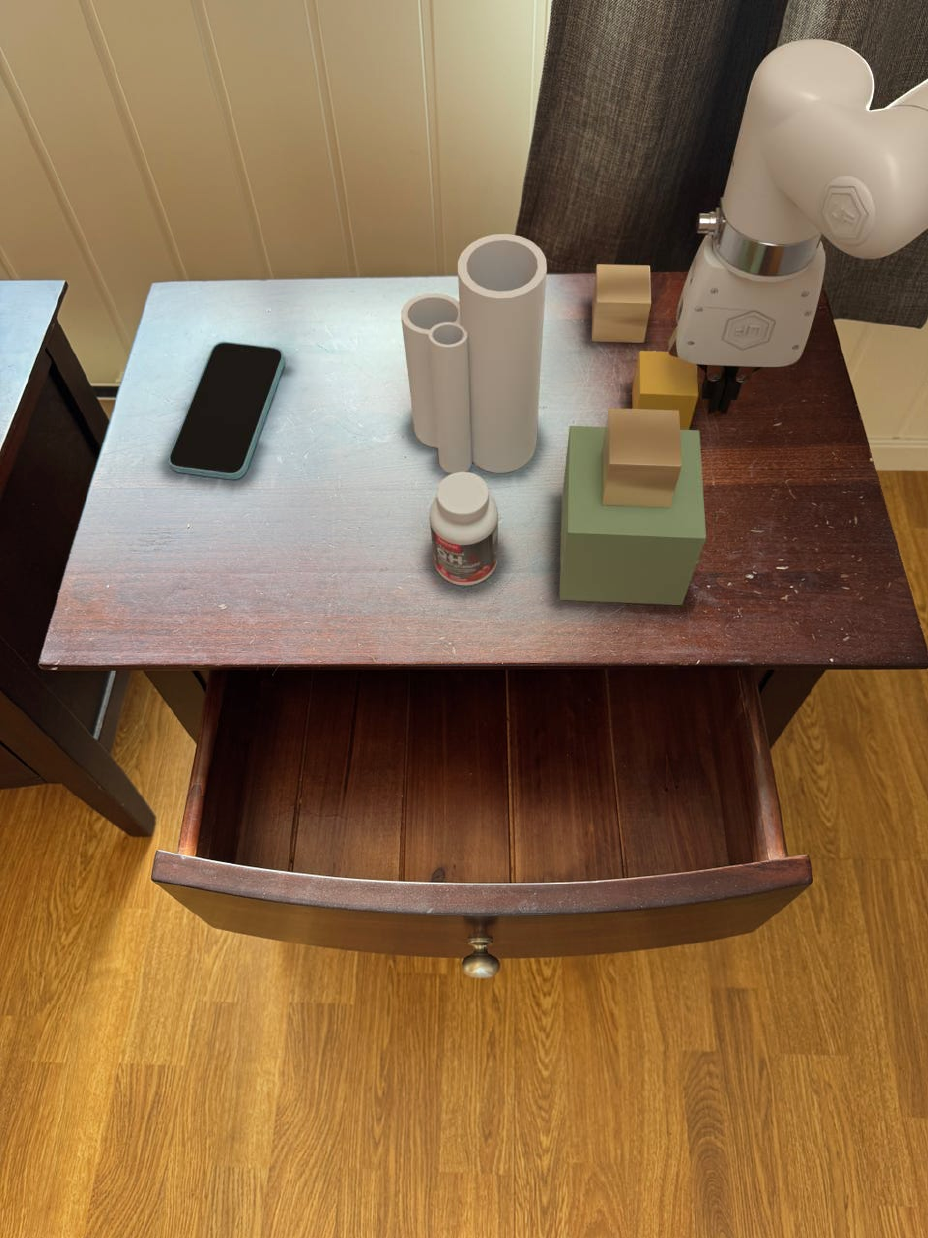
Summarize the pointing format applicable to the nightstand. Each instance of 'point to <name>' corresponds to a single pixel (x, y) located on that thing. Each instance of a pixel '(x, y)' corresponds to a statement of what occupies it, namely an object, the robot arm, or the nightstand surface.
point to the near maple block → (641, 457)
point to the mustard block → (665, 385)
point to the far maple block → (621, 303)
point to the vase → (480, 357)
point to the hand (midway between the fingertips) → (716, 401)
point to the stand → (628, 530)
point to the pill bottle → (464, 529)
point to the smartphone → (227, 411)
